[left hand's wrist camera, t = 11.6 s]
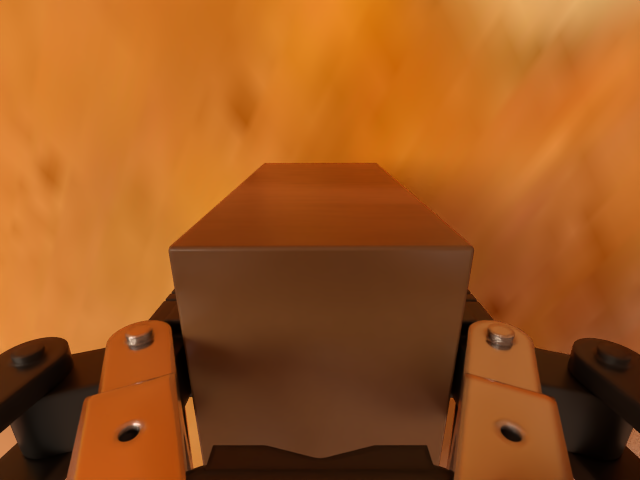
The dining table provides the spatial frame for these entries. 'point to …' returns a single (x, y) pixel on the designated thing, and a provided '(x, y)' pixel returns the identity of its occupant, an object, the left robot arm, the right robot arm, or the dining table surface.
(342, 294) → the box
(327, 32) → the dining table surface
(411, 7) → the dining table surface
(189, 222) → the dining table surface
